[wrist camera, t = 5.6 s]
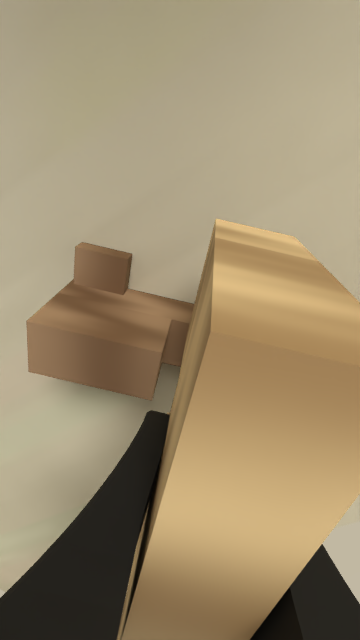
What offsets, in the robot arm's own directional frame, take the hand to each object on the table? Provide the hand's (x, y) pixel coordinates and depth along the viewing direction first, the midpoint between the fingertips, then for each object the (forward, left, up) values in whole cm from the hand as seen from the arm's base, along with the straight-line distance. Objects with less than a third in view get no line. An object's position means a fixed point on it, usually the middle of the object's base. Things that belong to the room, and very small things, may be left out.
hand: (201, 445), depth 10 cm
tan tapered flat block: (0, 0, -3) cm, 3 cm away
